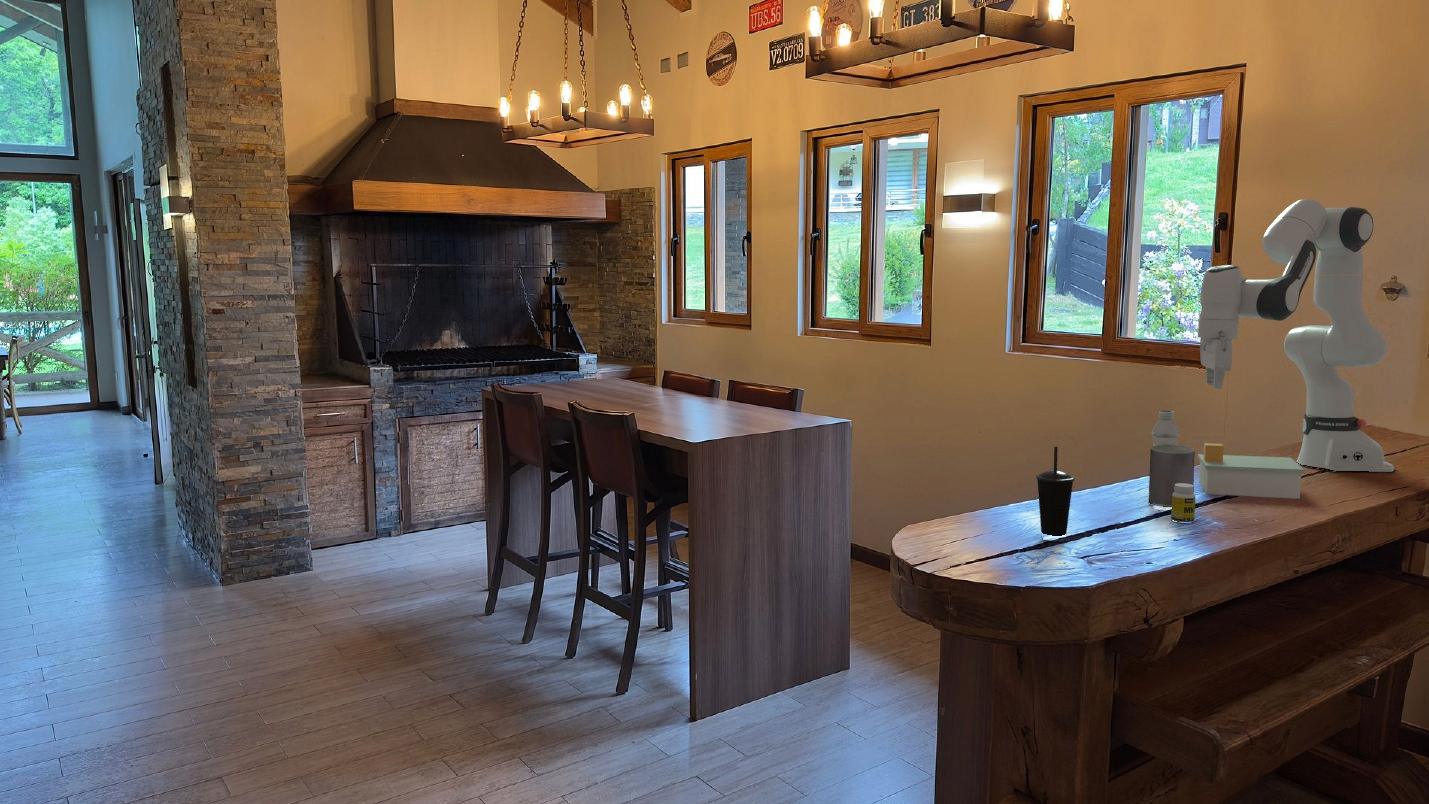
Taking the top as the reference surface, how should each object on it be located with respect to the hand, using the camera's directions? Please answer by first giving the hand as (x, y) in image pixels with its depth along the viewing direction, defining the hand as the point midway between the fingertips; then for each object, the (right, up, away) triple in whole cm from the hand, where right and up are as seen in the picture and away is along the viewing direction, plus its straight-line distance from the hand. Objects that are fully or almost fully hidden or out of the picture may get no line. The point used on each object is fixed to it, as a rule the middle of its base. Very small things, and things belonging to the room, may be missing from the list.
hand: (1213, 386), depth 237 cm
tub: (+8, -27, 0) cm, 28 cm away
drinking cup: (-53, -33, -36) cm, 72 cm away
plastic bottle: (-9, -26, +7) cm, 29 cm away
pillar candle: (-15, -29, -9) cm, 34 cm away
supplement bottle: (-20, -31, -24) cm, 44 cm away
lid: (+8, -21, -1) cm, 23 cm away
